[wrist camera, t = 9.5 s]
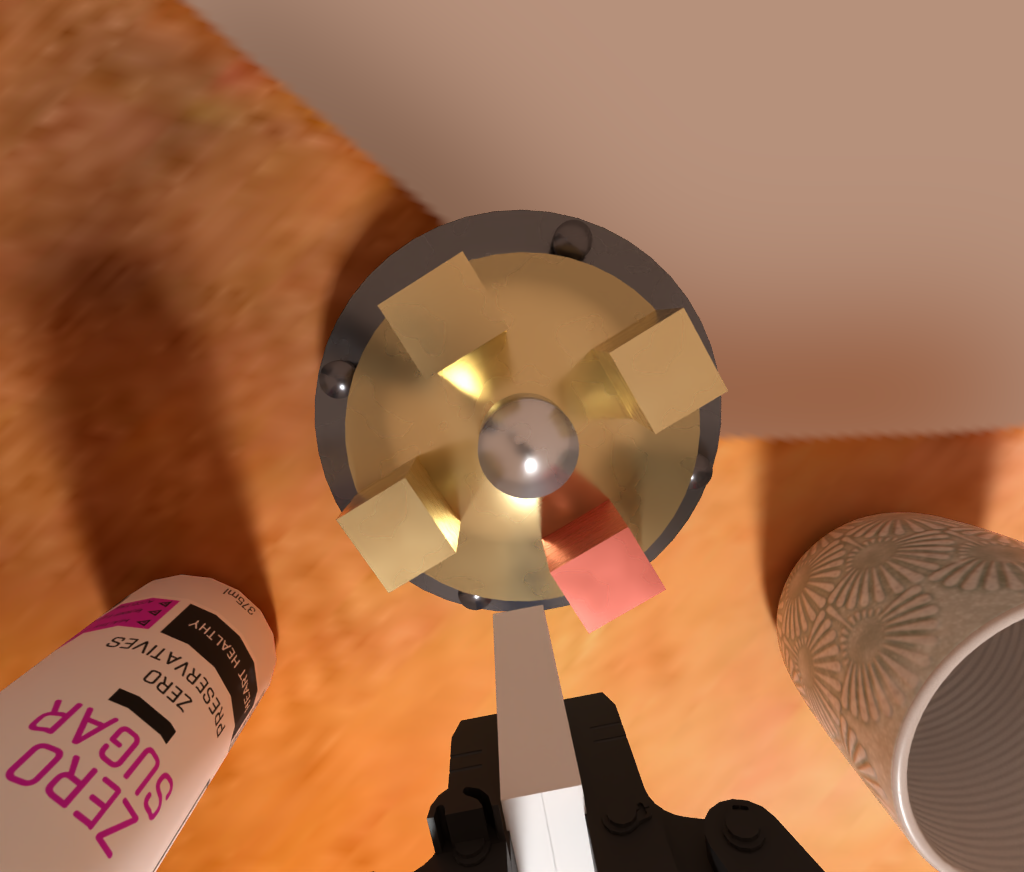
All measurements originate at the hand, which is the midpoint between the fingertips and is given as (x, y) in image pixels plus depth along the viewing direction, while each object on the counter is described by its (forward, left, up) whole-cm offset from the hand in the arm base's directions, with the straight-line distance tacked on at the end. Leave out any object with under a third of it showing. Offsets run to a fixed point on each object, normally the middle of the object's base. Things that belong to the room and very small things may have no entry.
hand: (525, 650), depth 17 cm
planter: (+14, +14, -12) cm, 23 cm away
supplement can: (-2, -17, -12) cm, 21 cm away
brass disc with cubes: (-4, +3, -9) cm, 10 cm away
